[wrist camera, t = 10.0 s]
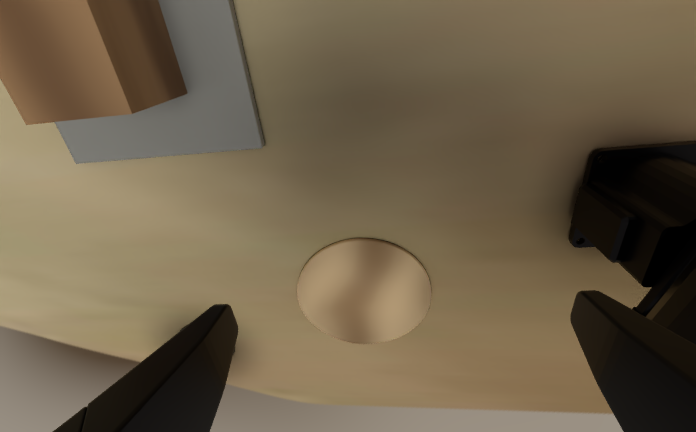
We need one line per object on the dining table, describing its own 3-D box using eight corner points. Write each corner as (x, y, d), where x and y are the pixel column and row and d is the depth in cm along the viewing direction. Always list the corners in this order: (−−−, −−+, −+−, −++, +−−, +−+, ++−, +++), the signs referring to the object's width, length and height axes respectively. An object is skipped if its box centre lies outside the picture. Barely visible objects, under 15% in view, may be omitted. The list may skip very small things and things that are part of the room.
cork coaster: (431, 234, 23) (433, 237, 23) (429, 338, 28) (430, 342, 27) (286, 242, 24) (285, 245, 24) (309, 341, 29) (308, 345, 28)
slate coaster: (204, -124, 15) (198, -129, 14) (264, 145, 21) (262, 148, 20) (-38, -82, 16) (-52, -86, 16) (83, 160, 22) (75, 163, 21)
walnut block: (153, -15, 16) (74, -30, 12) (187, 93, 19) (132, 113, 14) (59, -2, 17) (-50, -12, 13) (104, 102, 19) (26, 124, 15)
